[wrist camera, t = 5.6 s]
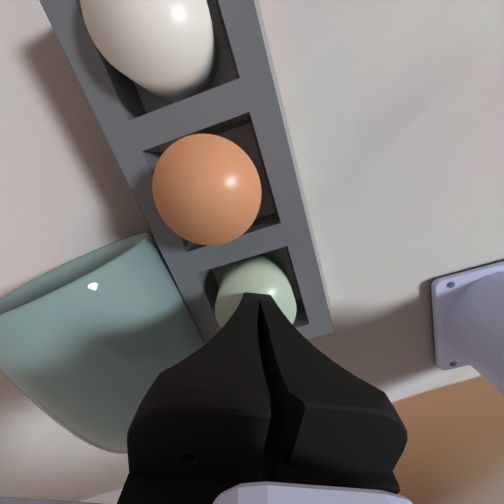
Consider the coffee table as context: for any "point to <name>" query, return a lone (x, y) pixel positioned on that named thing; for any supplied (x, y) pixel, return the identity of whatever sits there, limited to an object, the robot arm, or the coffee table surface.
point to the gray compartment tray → (216, 123)
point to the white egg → (156, 43)
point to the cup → (96, 338)
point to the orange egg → (206, 189)
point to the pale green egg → (254, 286)
